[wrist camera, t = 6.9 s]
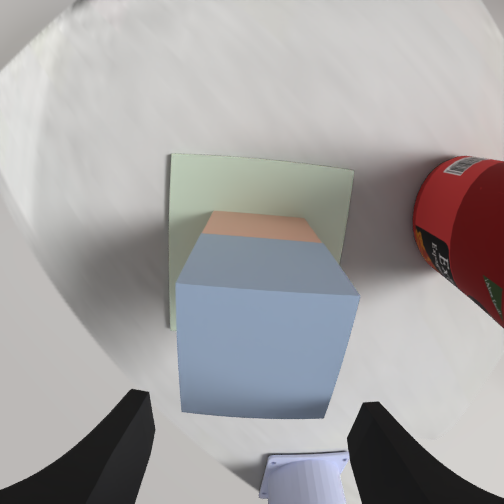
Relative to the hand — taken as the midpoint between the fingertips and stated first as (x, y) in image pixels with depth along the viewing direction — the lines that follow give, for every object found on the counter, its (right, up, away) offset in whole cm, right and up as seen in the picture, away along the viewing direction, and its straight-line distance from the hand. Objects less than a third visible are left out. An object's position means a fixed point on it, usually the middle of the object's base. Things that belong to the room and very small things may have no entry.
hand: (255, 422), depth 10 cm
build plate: (0, +5, +9) cm, 11 cm away
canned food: (+13, +8, +8) cm, 18 cm away
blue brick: (0, +4, +4) cm, 6 cm away
